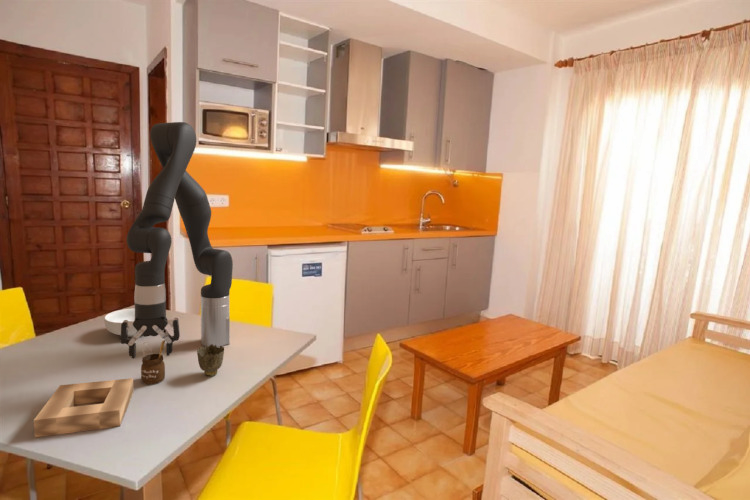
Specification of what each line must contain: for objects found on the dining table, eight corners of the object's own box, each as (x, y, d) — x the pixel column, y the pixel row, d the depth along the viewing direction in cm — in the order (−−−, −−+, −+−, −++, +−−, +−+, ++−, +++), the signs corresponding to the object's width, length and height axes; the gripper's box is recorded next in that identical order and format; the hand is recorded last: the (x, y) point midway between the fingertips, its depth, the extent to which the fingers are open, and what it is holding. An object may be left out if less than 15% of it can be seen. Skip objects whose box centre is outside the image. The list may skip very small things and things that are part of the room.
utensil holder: (148, 374, 120) (147, 335, 118) (170, 376, 120) (169, 336, 118) (136, 384, 114) (135, 343, 112) (159, 386, 114) (158, 344, 112)
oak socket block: (133, 392, 110) (133, 378, 109) (120, 426, 95) (119, 410, 95) (61, 400, 104) (60, 385, 104) (34, 437, 90) (33, 420, 89)
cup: (229, 372, 124) (229, 346, 123) (212, 382, 118) (212, 355, 116) (209, 367, 127) (209, 342, 126) (191, 377, 120) (191, 351, 119)
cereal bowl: (142, 343, 141) (141, 323, 140) (93, 340, 141) (92, 320, 140) (167, 326, 158) (167, 308, 157) (124, 324, 158) (123, 306, 157)
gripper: (180, 295, 119) (180, 349, 121) (123, 296, 114) (125, 352, 117) (177, 302, 112) (177, 359, 114) (117, 304, 107) (118, 363, 110)
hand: (151, 356), depth 116 cm, fingers open, 8 cm apart
